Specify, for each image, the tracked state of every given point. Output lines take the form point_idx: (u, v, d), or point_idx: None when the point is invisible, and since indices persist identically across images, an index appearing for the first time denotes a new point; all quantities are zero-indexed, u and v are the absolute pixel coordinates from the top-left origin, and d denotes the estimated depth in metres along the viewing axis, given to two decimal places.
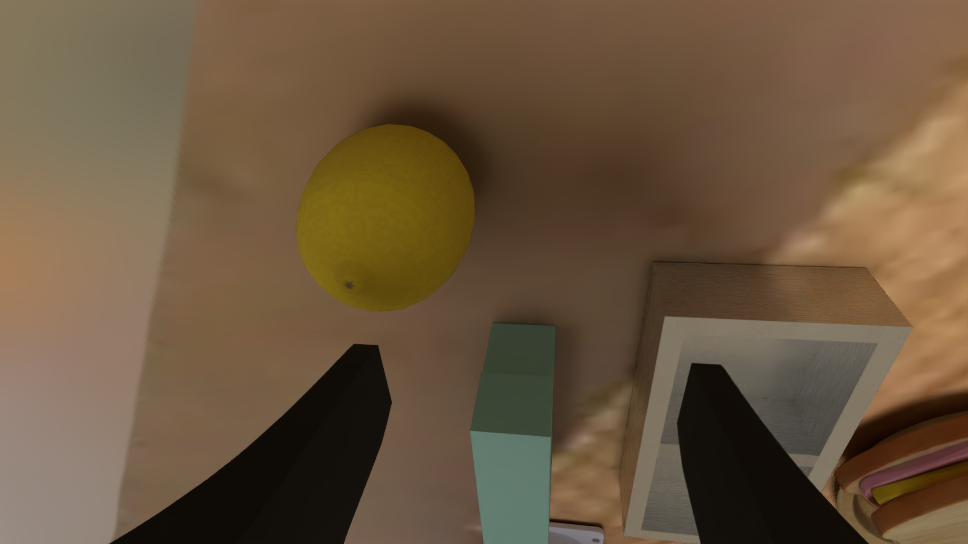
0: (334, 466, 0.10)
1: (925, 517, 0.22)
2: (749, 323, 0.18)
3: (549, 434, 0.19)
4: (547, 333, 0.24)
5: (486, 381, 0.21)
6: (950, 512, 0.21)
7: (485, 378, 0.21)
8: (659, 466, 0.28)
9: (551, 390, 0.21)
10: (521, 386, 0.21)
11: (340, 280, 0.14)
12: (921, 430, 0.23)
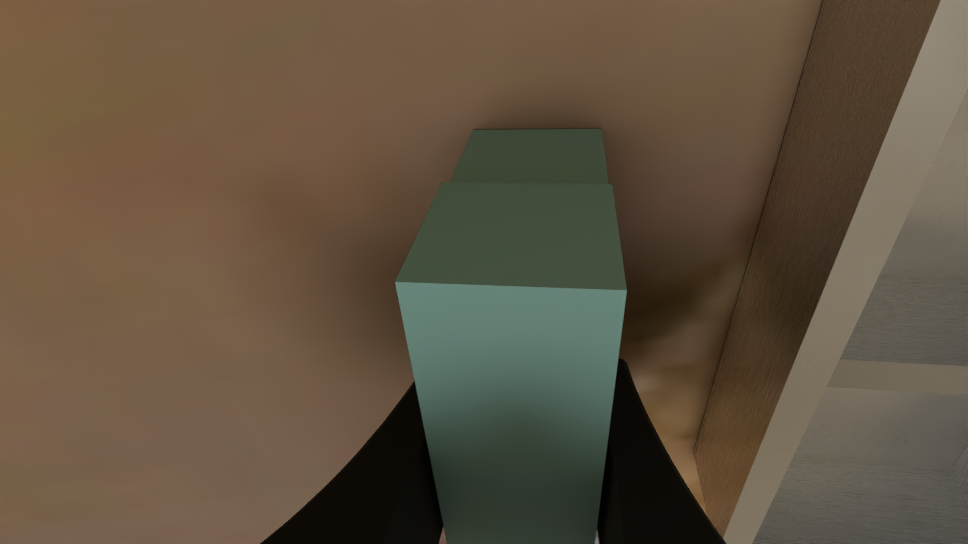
0: (433, 475, 0.10)
1: None
2: None
3: (622, 285, 0.07)
4: (586, 137, 0.11)
5: (451, 195, 0.09)
6: None
7: (449, 192, 0.09)
8: None
9: (612, 205, 0.08)
10: (536, 201, 0.08)
11: None
12: None
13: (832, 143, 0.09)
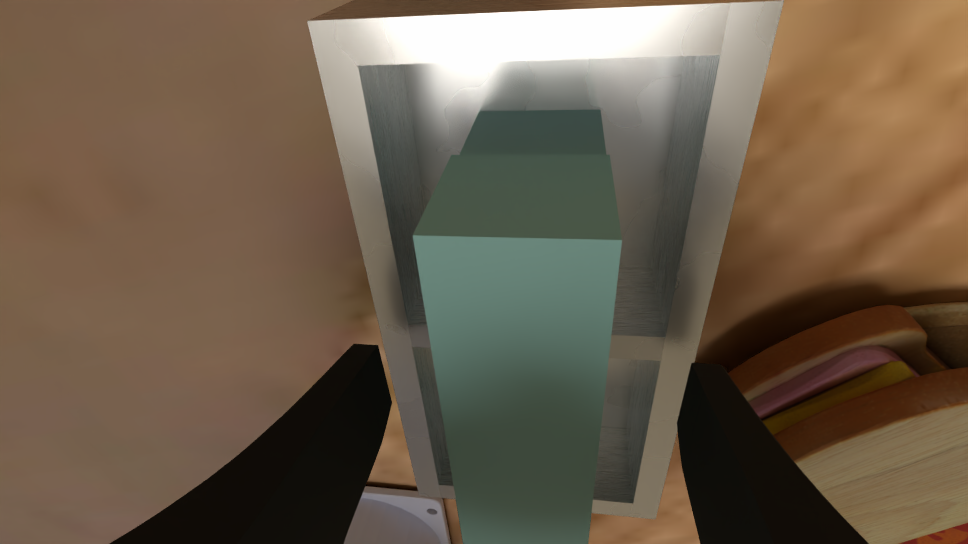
0: (334, 466, 0.10)
1: None
2: (466, 25, 0.09)
3: (617, 236, 0.07)
4: (586, 117, 0.12)
5: (460, 165, 0.10)
6: (811, 470, 0.13)
7: (458, 162, 0.10)
8: None
9: (609, 172, 0.09)
10: (539, 169, 0.09)
11: None
12: (774, 347, 0.15)
13: None
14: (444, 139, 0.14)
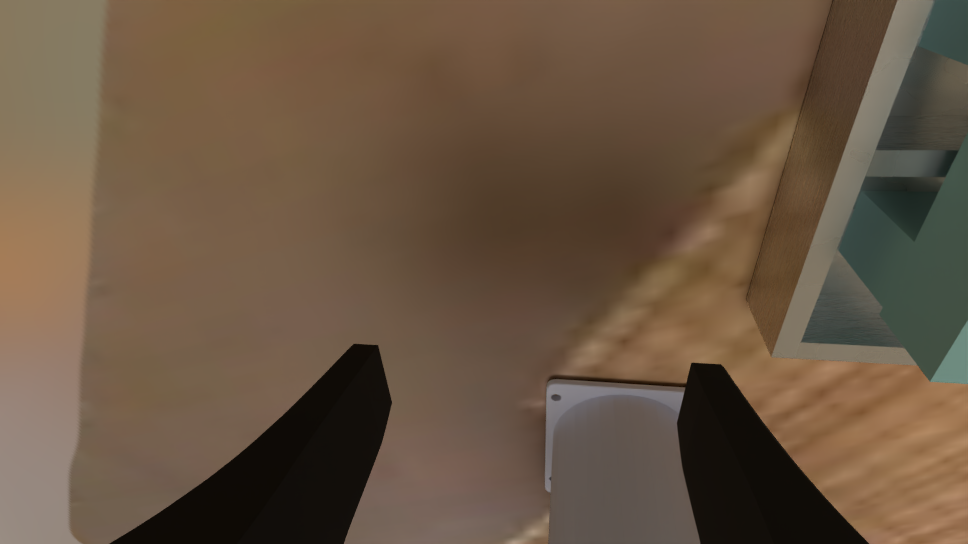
0: (334, 466, 0.10)
1: None
2: None
3: None
4: None
5: None
6: None
7: None
8: None
9: None
10: None
11: None
12: None
13: None
14: None
